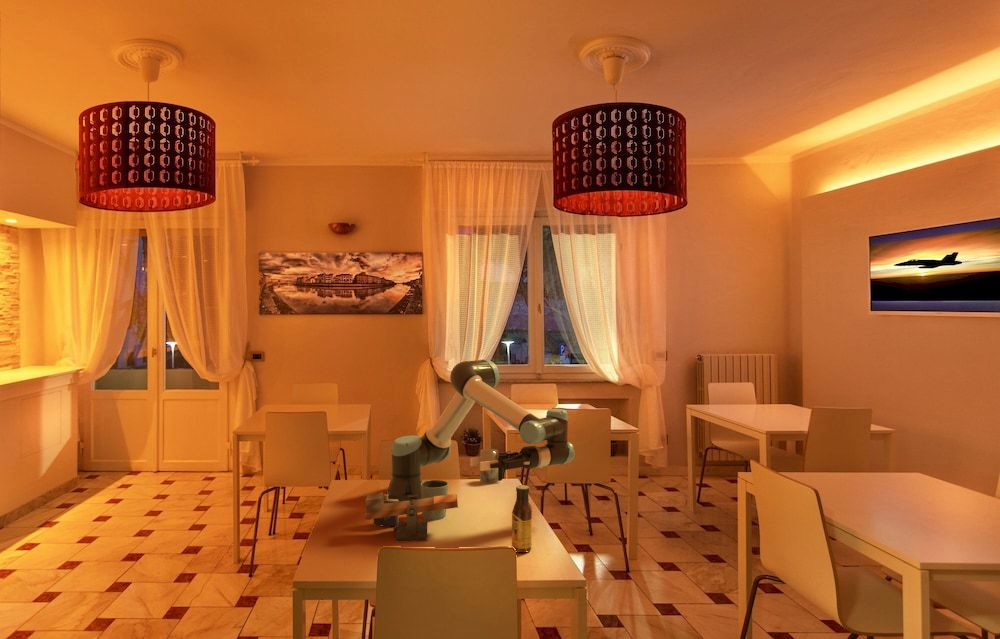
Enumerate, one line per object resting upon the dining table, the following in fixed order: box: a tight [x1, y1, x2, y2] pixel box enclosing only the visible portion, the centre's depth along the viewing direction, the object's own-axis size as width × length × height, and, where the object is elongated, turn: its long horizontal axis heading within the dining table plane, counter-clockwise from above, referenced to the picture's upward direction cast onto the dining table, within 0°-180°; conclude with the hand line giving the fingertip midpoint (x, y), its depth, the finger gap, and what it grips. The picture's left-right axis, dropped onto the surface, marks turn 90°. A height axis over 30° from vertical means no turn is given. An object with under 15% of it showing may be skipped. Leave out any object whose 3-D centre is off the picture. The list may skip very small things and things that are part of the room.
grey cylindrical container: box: [421, 479, 449, 521], centre depth 217 cm, size 10×10×12 cm
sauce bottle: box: [511, 484, 533, 553], centre depth 186 cm, size 6×6×20 cm
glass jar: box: [479, 448, 499, 484], centre depth 200 cm, size 6×6×10 cm
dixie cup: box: [494, 468, 505, 484], centre depth 264 cm, size 8×8×11 cm
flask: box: [373, 493, 400, 528], centre depth 208 cm, size 9×3×11 cm, turn 74°
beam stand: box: [395, 495, 428, 542], centre depth 199 cm, size 10×14×11 cm
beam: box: [364, 491, 459, 520], centre depth 199 cm, size 30×9×6 cm, turn 96°
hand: (475, 464), depth 197 cm, fingers closed on glass jar, 6 cm apart
